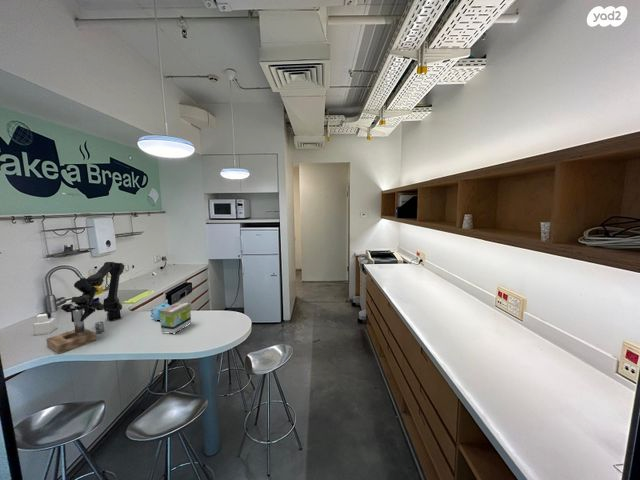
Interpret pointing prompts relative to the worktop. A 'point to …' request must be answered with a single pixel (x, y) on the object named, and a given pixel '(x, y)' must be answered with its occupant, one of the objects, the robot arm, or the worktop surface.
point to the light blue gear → (158, 310)
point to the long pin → (78, 320)
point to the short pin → (99, 327)
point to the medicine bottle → (44, 324)
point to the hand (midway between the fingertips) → (76, 321)
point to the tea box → (175, 317)
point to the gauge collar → (70, 340)
